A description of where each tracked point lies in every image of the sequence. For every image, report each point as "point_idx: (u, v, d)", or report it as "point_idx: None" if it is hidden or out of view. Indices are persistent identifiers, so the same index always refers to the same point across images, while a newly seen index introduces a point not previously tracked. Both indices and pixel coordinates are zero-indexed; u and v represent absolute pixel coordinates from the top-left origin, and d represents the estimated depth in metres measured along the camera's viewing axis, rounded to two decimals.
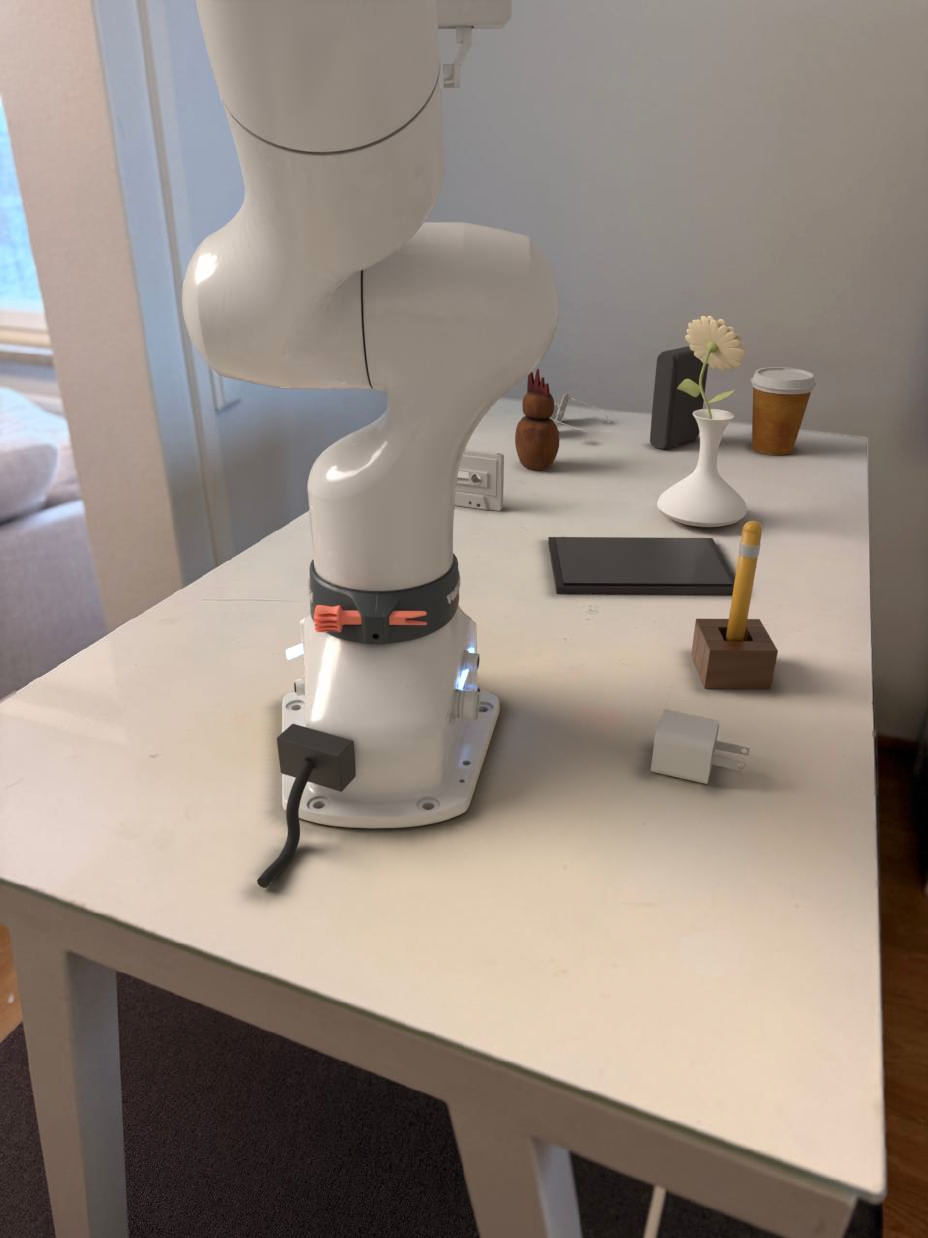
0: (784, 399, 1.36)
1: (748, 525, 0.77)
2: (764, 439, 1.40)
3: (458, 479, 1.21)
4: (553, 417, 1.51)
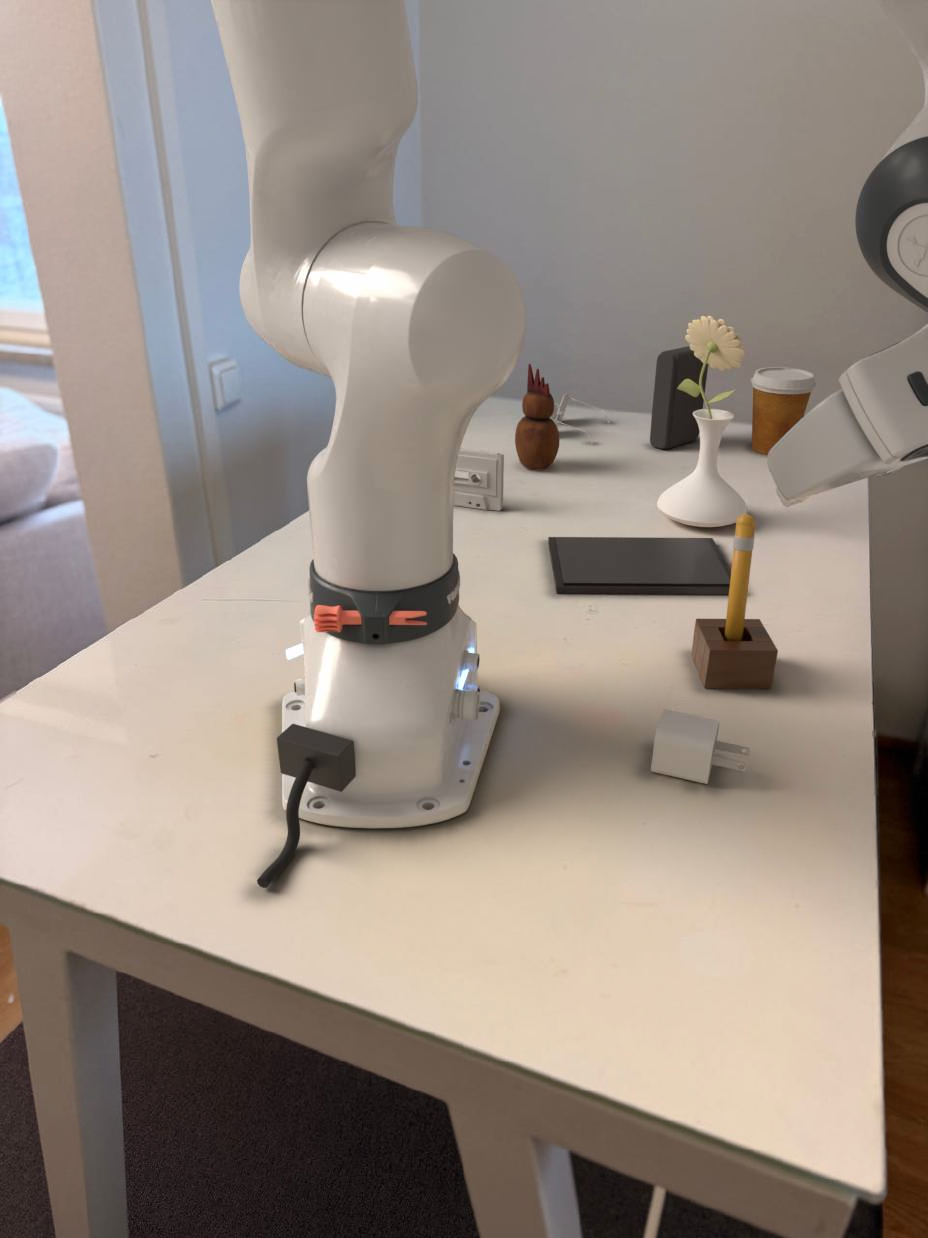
0: (784, 399, 1.36)
1: (741, 518, 0.79)
2: (764, 439, 1.40)
3: (458, 479, 1.21)
4: (553, 417, 1.51)
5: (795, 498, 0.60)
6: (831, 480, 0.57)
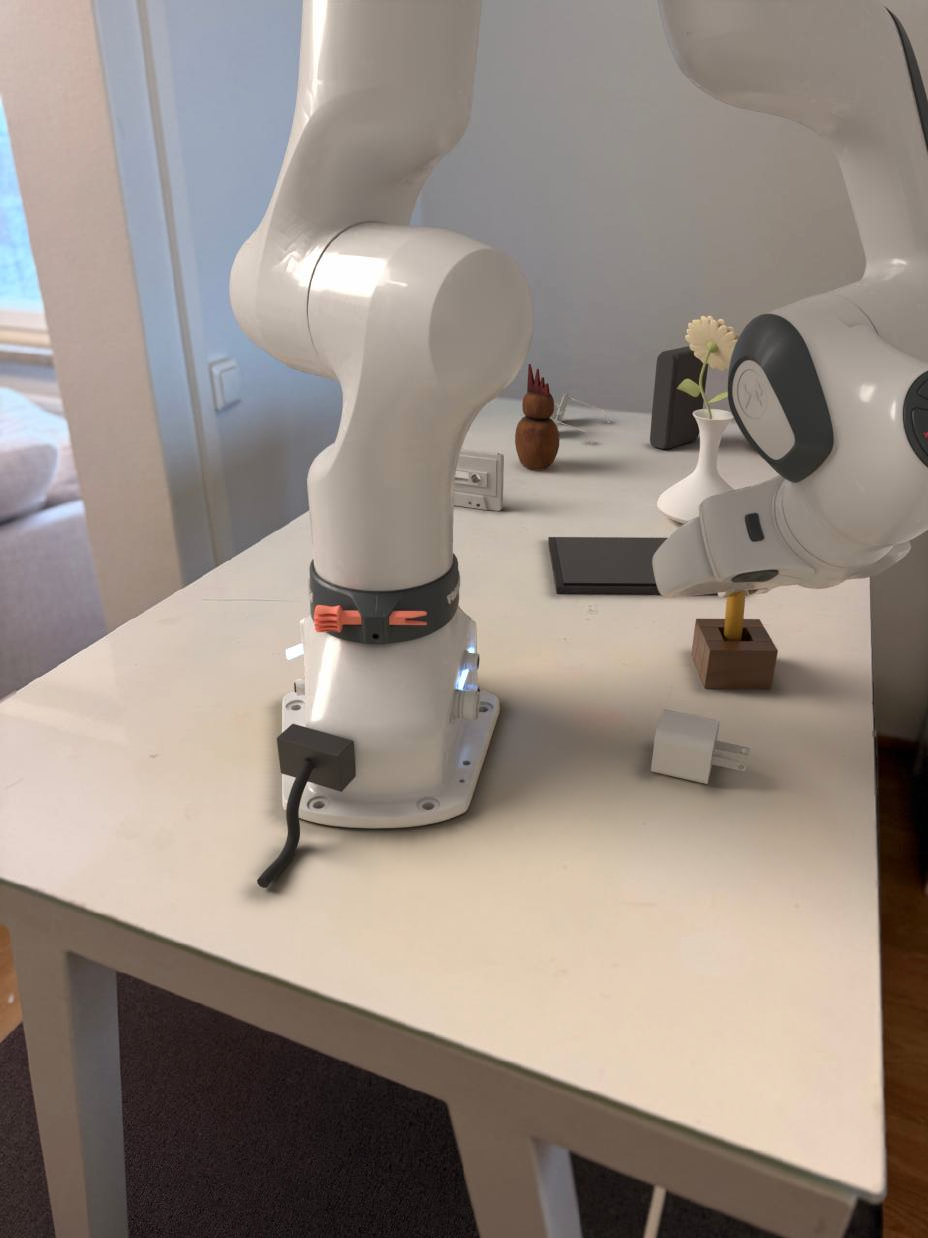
0: None
1: None
2: None
3: (458, 479, 1.21)
4: (553, 417, 1.51)
5: (665, 595, 0.73)
6: (684, 586, 0.70)
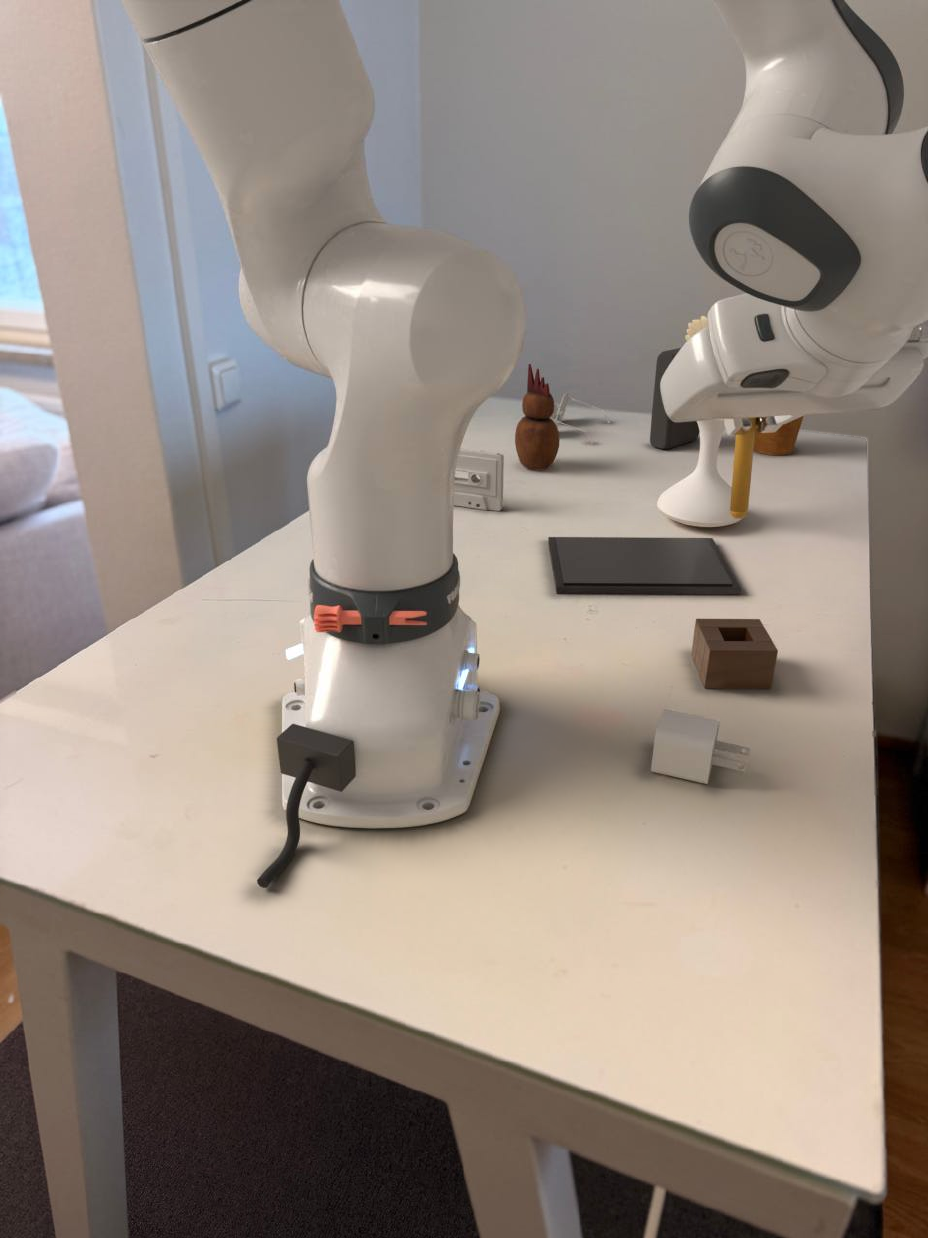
0: None
1: None
2: (764, 439, 1.40)
3: (458, 479, 1.21)
4: (553, 417, 1.51)
5: (673, 416, 0.72)
6: (692, 400, 0.69)
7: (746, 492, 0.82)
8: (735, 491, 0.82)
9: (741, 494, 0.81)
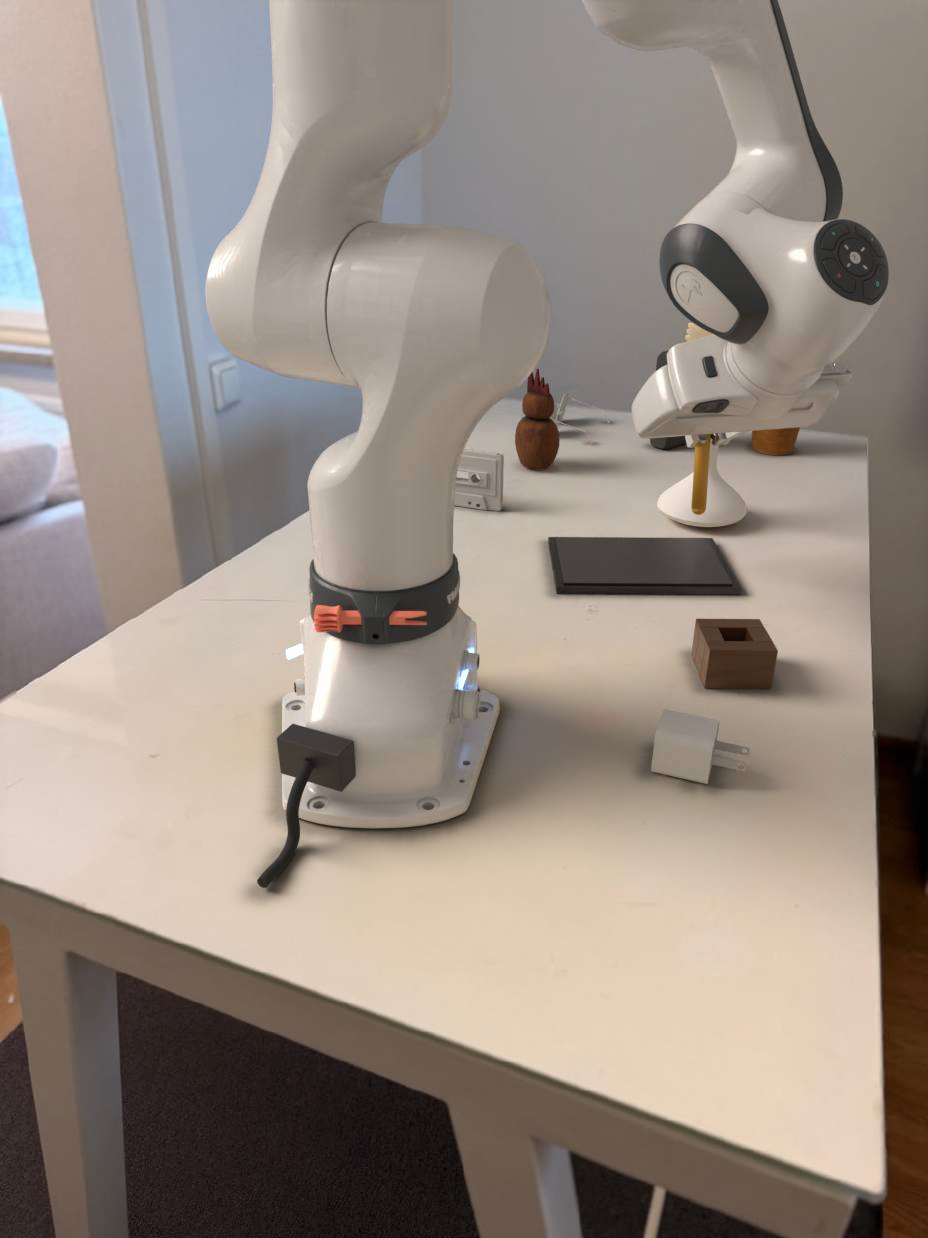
0: None
1: None
2: (764, 439, 1.40)
3: (458, 479, 1.21)
4: (553, 417, 1.51)
5: (641, 434, 0.90)
6: (656, 422, 0.87)
7: (704, 493, 1.00)
8: (695, 492, 1.00)
9: (700, 495, 1.00)
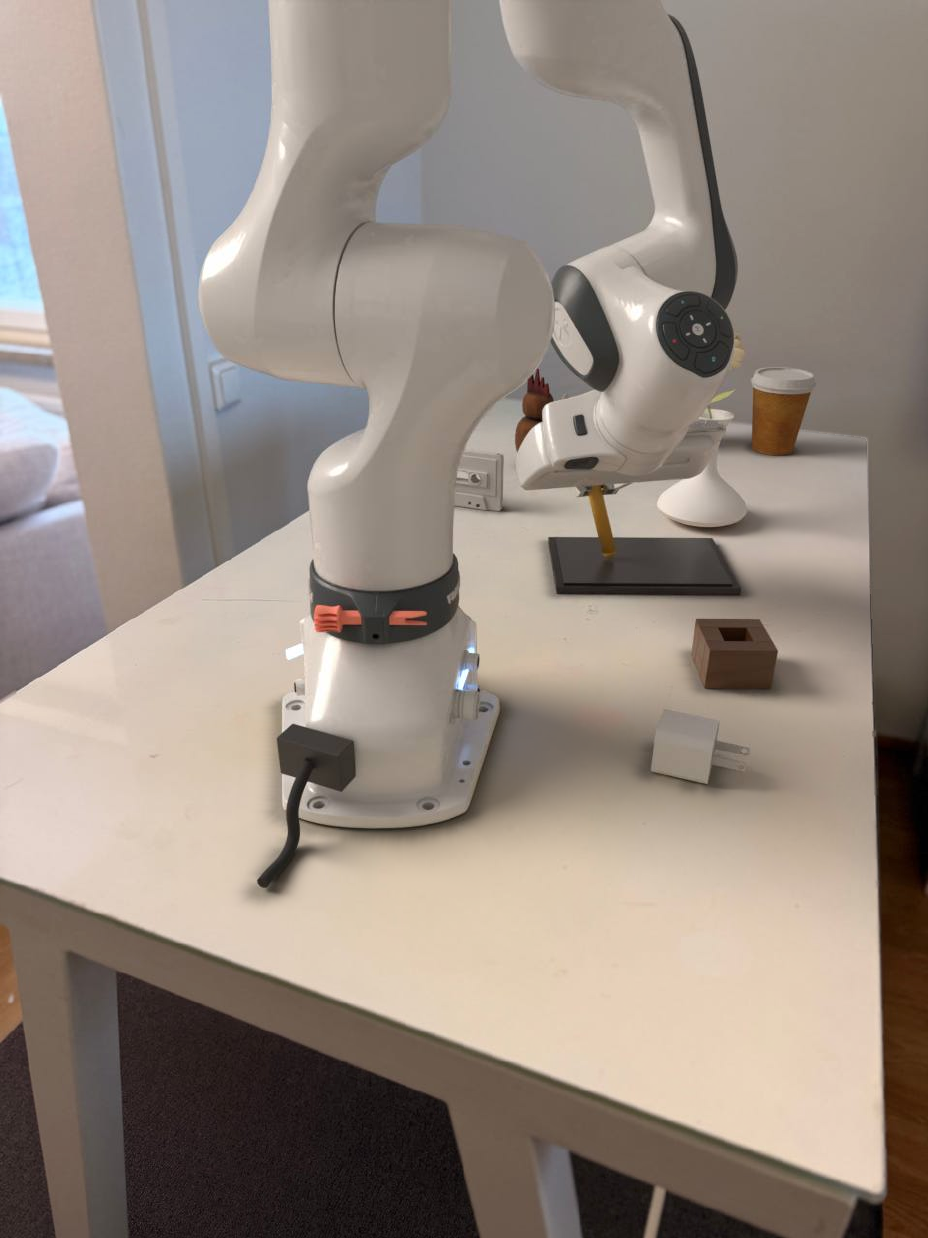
0: (784, 399, 1.36)
1: None
2: (764, 439, 1.40)
3: (458, 479, 1.21)
4: None
5: (523, 486, 0.93)
6: (533, 476, 0.90)
7: (609, 537, 1.02)
8: (601, 538, 1.03)
9: (606, 540, 1.02)
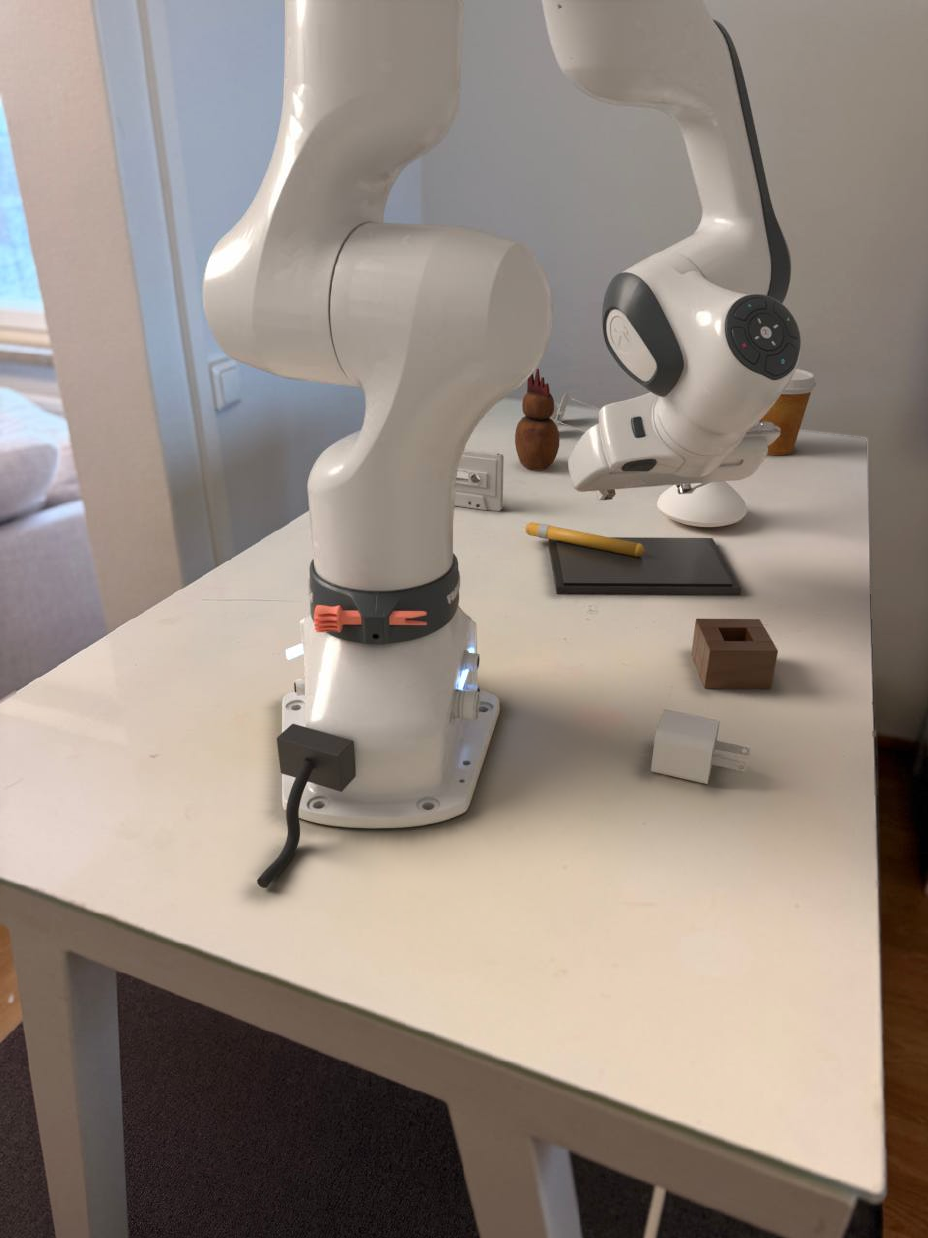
0: (784, 399, 1.36)
1: (526, 532, 1.10)
2: None
3: (458, 479, 1.21)
4: (553, 417, 1.51)
5: (576, 488, 0.93)
6: (589, 478, 0.90)
7: (621, 544, 1.05)
8: (619, 552, 1.05)
9: (621, 548, 1.05)
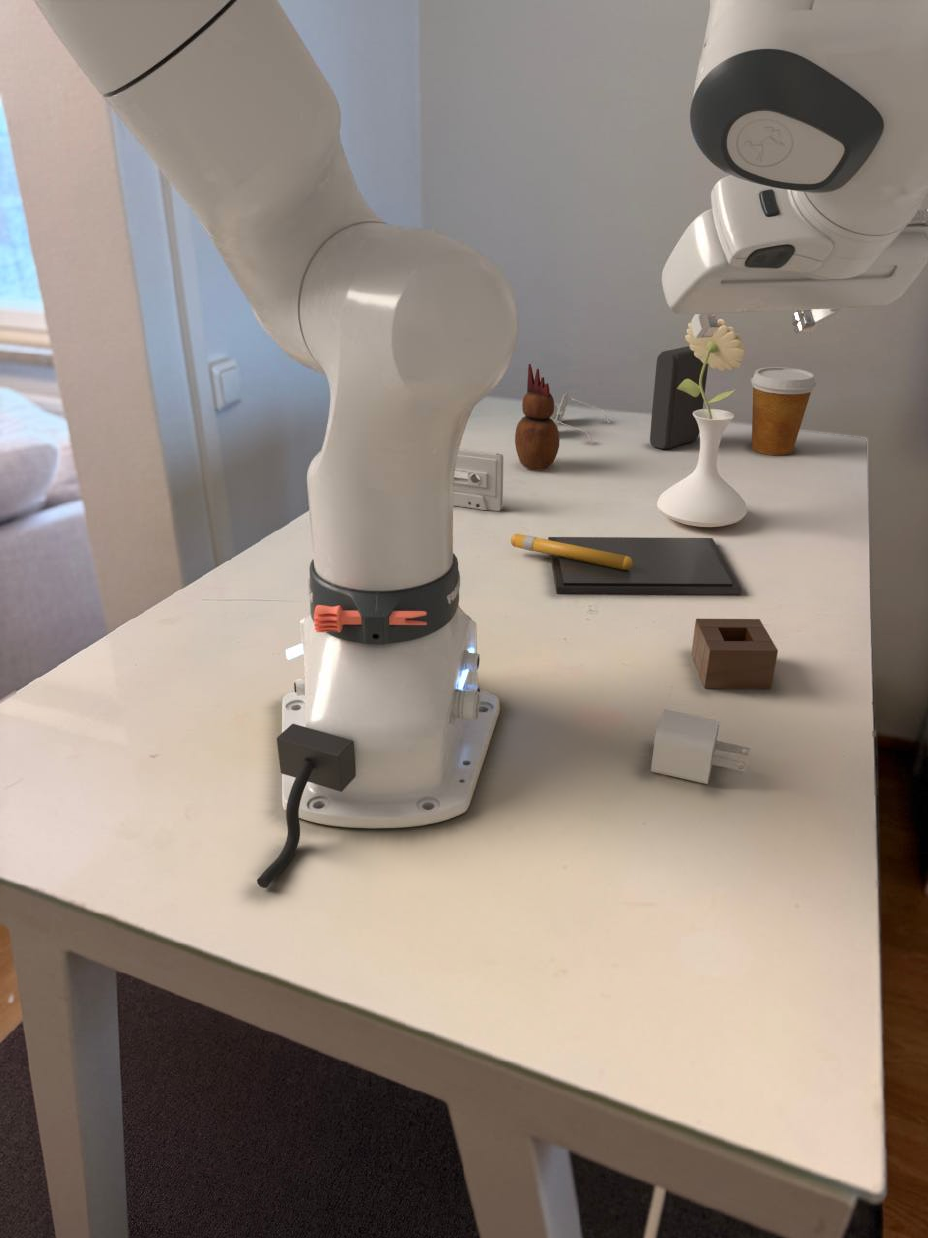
0: (784, 399, 1.36)
1: (511, 539, 1.07)
2: (764, 439, 1.40)
3: (457, 479, 1.21)
4: (553, 417, 1.51)
5: (675, 307, 0.70)
6: (695, 285, 0.67)
7: (611, 553, 1.02)
8: (607, 558, 1.01)
9: (611, 554, 1.02)
